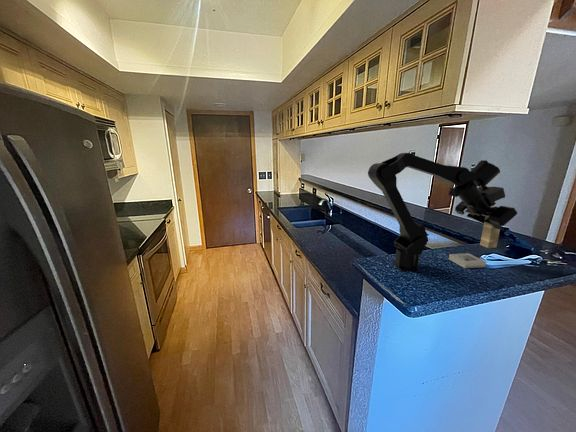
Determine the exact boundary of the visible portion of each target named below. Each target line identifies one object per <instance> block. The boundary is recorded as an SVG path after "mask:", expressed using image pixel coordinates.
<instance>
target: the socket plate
mask: <svg viewBox="0 0 576 432" xmlns="http://www.w3.org/2000/svg"><path fill="white" fill-rule="evenodd" d="M448 260H449V261H451V262H453V263H455V264H456V265H459V266H460V267H462V268H464V269H477V268H479V269H480V268H486V265H487V261H485V260H484V259H481V258H479V257H477V256H474V255H473V254H471V253H469V252H468V253H467V252H466V253H449V255H448Z"/></svg>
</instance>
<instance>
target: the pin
mask: <svg viewBox="0 0 576 432" xmlns="http://www.w3.org/2000/svg"><path fill="white" fill-rule="evenodd" d="M491 207H492V208H493V207H494V206H491ZM487 218H488V217H487V216H485V220H486V219H487ZM500 232H501V229H497V228H495V227H493V226H491V225H489V224H487V223H486V222H484V224H483V227H482V232H481V238H480V242H479V245H480V246H482V247H485V248H487V249H492V248H493V249H494V248H497V245H498V241H499V237H500Z"/></svg>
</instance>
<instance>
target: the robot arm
mask: <svg viewBox="0 0 576 432" xmlns="http://www.w3.org/2000/svg"><path fill="white" fill-rule="evenodd" d="M406 168H409V169H412V170H415V171H418V172H421V173H425V174H427V175H430V176H433V177H435V178H436V179H437V180H439V181H440V182H442V183H444V184H445V185H446V184H447V185H453V186H454V185H455V186H454V187H450V188H449V191H448V193H447V194H448V195H447V196H450V197H454V198H457V197H459V199H460V200H461V201H460V202H459V203H458V204H457V205H456V206H455V209H454V211H455V212H456V213H457V214H459V215H462V216H463V215H464V214H465V213H466V214H467V215H466V217H467V218H469V219H472V220H474V221H475V222H476V221H477V222H478V223H480V224H483V225H484V222H486V223H487V224H489V225H491V226H493V227H495V228H497V229H500V230H501V229H502V228H503V226H506V225H507V223H509V222H510V221H511V220H512V219H513V218H515V217H516V216H517V215H518V213H519V212H518V211H517V210H516V208H515V207H511V206H507V205H500V206H496V204H497V203H496V202H497V201H499V200H501V199H504V198H506V192H505V190H504V187H500V186H499V187H498V186H487V185H488V184H489V183H490V182H492V181H493V180H494V179H495V178H496V177H497V176H498V175H499V174H500V173H501V169H500V168H499V167H498V166H496V165H495V164H493V163H490V162H488V160H480V161H478V163H477V164H476V165H475V166H474V167H473V168H472V169H471V170H470V169H469V168H467V167H463V166H457V165H456V166H455V165H445V164H442V163H438V162H436V161H433V160H429V159H426V158H423V157H421V156H418V155H415V154H413V153H412V152H401V153H398V154H397V155H395V156H392V157H391V158H388V159H386V160H383V161H381V162H375V163H373V164H371V165H370V167H369V168H368V171H367V176H368V178H369V179H370V180H371V181H372V183H373V184H374V185H375V186H376V187H377V188H378V189H379V191H381V193H382V194H383V196H384V198H385V200H386V201H387V203H388V206H389V207H390V209H391V211H392V213H393V215H394V217H395V219H396V220H397V223H398V225H399V236H398V237H397V238H396V239H395V240H394V241H393V244H394V246H395V248H396V251H395V260H394V261H392V264H393V265H394V266H395V267H396V268H398V269H399V271H419V270H420V268H419V267H418V266H419V260H420V255H422V253H423V251H424V249H425V247H426V246H427V243H428V242H429V237H428V236H430V234H428V233H427V230H426V227H425V226H424V225H423V224H421V223H420V222H417V221H414V219H413V217H412V215H411V213H410V211H409V208H408V206H407V205H406V203H405V200H404V199H403V197H402V194H401V193H400V191H399V189H398V186H397V182H398V181H397V175H399V174H400V173H401V172H403V171H404V170H405V169H406ZM492 207H493V208H492ZM485 216H487V217H488V218H487V219H486V220H485Z"/></svg>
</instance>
